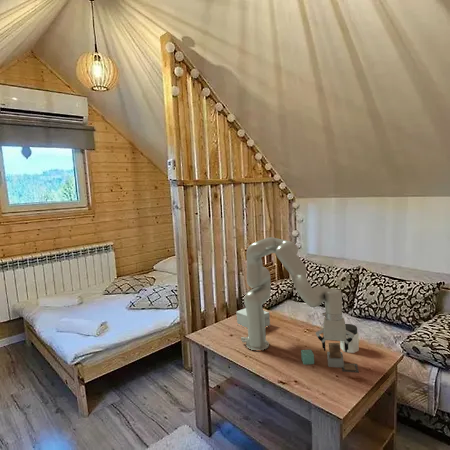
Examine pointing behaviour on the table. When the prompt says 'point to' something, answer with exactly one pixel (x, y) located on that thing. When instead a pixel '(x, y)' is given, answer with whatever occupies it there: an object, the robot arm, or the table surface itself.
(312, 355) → the teal cube
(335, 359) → the grey base block
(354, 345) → the jar
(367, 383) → the table surface
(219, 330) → the table surface
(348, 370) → the swatch
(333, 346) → the walnut cube
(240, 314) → the supplement box
